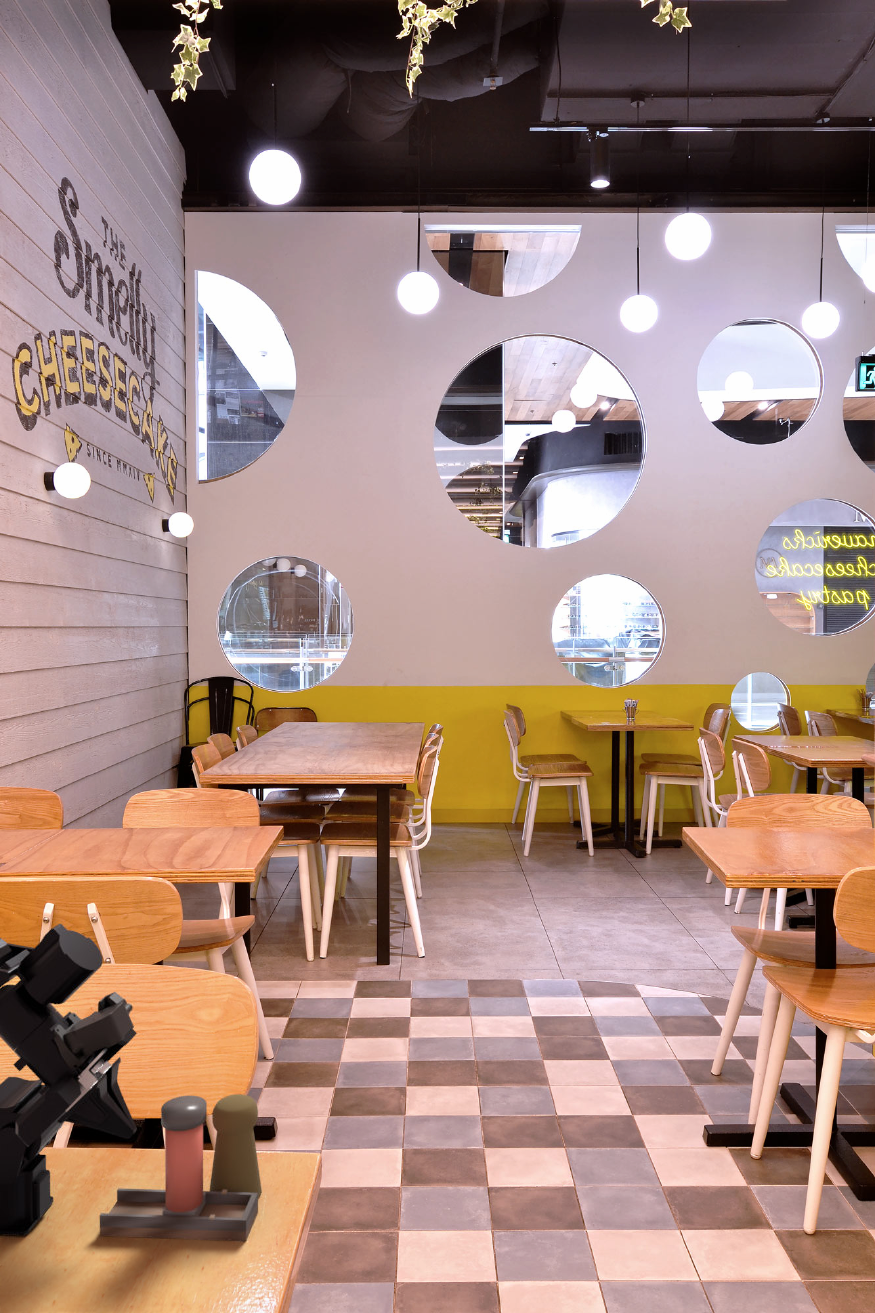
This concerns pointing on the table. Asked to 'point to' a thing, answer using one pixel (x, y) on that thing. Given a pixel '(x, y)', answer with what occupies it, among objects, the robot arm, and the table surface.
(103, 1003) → the robot arm
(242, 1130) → the olive rounded upright piece
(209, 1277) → the table surface
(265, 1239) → the table surface
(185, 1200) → the plug
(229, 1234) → the track
